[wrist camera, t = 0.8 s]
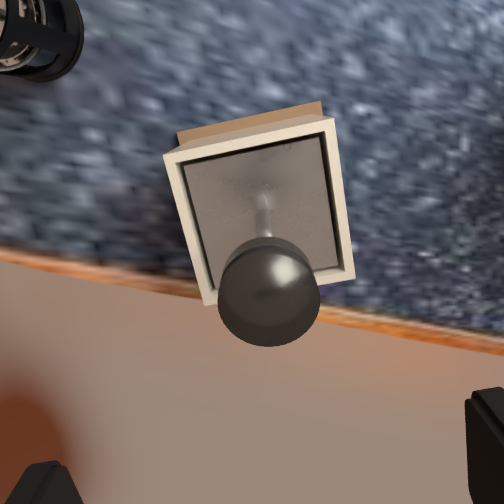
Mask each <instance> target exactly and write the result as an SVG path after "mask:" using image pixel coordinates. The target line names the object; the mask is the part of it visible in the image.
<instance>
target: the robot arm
mask: <svg viewBox="0 0 504 504" xmlns="http://www.w3.org/2000/svg"><path fill="white" fill-rule="evenodd" d="M465 422H466V444H467V465H468V486H469V492H470V496H471V499H472V501H473V504H504V389H503V388H501V387H495V388H489V389H483V390H477V391H473V392H472V395H471V399H466V400H465ZM5 504H83V501H82V499H81V497H80V495H79V493H78V491H77V489H76V487H75V484H74V482H73V480H72V478H71V476H70V474H69V471H68V469H67V468H66V467H65V466H61V464H60V463H59V462H58V461H56V460H55V461H48V462H42V463H36V464H31V465H30V466H28V468H27V469H26V470H25V472H24V473H23V475H22V476H21V478H20V479H19V481H18V483H17V484H16V486H15V488H14V489H13V491H12V492H11V494H10V496H9V497H8V499H7V500H6V502H5Z"/></svg>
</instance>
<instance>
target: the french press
mask: <svg viewBox="0 0 504 504" xmlns="http://www.w3.org/2000/svg"><path fill="white" fill-rule="evenodd" d="M57 1H58V2H59V4H60V6H61V8H62V12H63V18H64V32H62V31H59V30H57V29H54V28H51V27H49V26H47V14H46V9H45V5H44V2H43V0H0V74H2V75H11V76H18V77H21V78H24V79H27V80H31V81H38V82H41V81H50V80H54V79H57V78H59V77H61V76H63V75H64V74H66V73H67V72H68V71H69V70H70V69H71V68H73V66H74V65H75V63H76V62H77V60H78V59H79V56H80V54H81V51H82V48H83V42H84V25H83V19H82V15H81V13H80V10H79V7H78V5H77V3H76V1H75V0H57ZM41 49H44V50H48V51H52V52H56V53H58V55H57V56H56V58H55V59H54V61H53V62H51V63H49V64H47V65H44V66H36V67H34V66H28V65H26V63H28V62H29V61H30V60H31V59H33V58H34V57H35V56H36V55H37V54H38V52H39V51H40V50H41Z"/></svg>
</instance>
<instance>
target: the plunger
mask: <svg viewBox="0 0 504 504" xmlns="http://www.w3.org/2000/svg"><path fill="white" fill-rule="evenodd" d="M183 167H184V170H185V174H186V178H187V182H188V186H189V190H190V193H191V197H192V201H193V205H194V209H195V212H196V216H197V220H198V224H199V228H200V231H201V235H202V239H203V243H204V247H205V251H206V254H207V258H208V262H209V266H210V270H211V273H212V277H213V281H214V285H215V288H219V291H218V298H217V303H218V310H219V314H220V317H221V319H222V320H223V323H224V324H225V326H226V327H227V328H228V329H229V330H230V332H232V333H233V334H234V335H235V336H236V337H238V338H239V339H241V340H243V341H245V342H247V343H250V344H253V345H257V346H264V347H272V346H280V345H284V344H287V343H290V342H292V341H294V340H296V339H297V338H299V337H301V336H302V335H303V334H304V333H306V332H307V330H308V329H309V328H310V327H311V326H312V324H313V323H314V321H315V319H316V317H317V315H318V312H319V307H320V293H319V288H318V285H317V282H316V279H315V276H314V273H313V270H315V269H321V268H326V267H331V266H337V265H338V262H337V255H336V248H335V242H334V235H333V228H332V222H331V215H330V208H329V202H328V195H327V188H326V182H325V175H324V168H323V162H322V155H321V148H320V142H319V137H313V138H308V139H303V140H298V141H294V142H289V143H284V144H280V145H275V146H270V147H266V148H261V149H256V150H252V151H247V152H242V153H238V154H233V155H228V156H224V157H219V158H214V159H209V160H205V161H200V162H195V163H191V164H186V165H184V166H183Z"/></svg>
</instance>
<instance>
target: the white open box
mask: <svg viewBox="0 0 504 504" xmlns="http://www.w3.org/2000/svg"><path fill="white" fill-rule="evenodd" d="M177 136H178V140H179V144H180V146H178V147H177V148H175V149H173V150H171V151H169V152H167V153H166V154H164V155H163V158H164V162H165V165H166V169H167V173H168V176H169V180H170V184H171V187H172V191H173V194H174V198H175V202H176V205H177V209H178V213H179V216H180V220H181V223H182V227H183V231H184V234H185V238H186V242H187V245H188V249H189V252H190V256H191V260H192V263H193V267H194V270H195V274H196V278H197V281H198V285H199V289H200V292H201V296H202V299H203V303H204V306H209V305H214V304H218V303H217V298H218V291H219V288H215V285H214V281H213V277H212V273H211V270H210V266H209V262H208V258H207V254H206V251H205V247H204V243H203V239H202V235H201V231H200V228H199V224H198V220H197V216H196V212H195V209H194V205H193V201H192V197H191V193H190V190H189V186H188V182H187V178H186V174H185V170H184V167H183V166H184V165H186V164H191V163H195V162H200V161H205V160H209V159H214V158H219V157H224V156H228V155H233V154H238V153H242V152H247V151H252V150H256V149H261V148H266V147H270V146H275V145H280V144H284V143H289V142H294V141H298V140H303V139H308V138H313V137H319V142H320V148H321V155H322V162H323V168H324V175H325V182H326V188H327V195H328V202H329V208H330V215H331V222H332V228H333V235H334V242H335V248H336V255H337V262H338V265H337V266H331V267H326V268H321V269H315V270H313V273H314V276H315V279H316V282H317V285H323V284H329V283H334V282H339V281H345V280H350V279H356V277H355V270H354V262H353V255H352V248H351V240H350V233H349V226H348V218H347V211H346V204H345V197H344V189H343V182H342V175H341V167H340V160H339V153H338V145H337V138H336V131H335V123H334V118H331V117H326V116H323V114H322V107H321V101H315V102H311V103H306V104H302V105H297V106H293V107H288V108H284V109H279V110H275V111H270V112H266V113H261V114H256V115H252V116H247V117H243V118H238V119H234V120H229V121H225V122H220V123H216V124H211V125H207V126H202V127H197V128H193V129H188V130H184V131H179V132H177Z"/></svg>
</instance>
